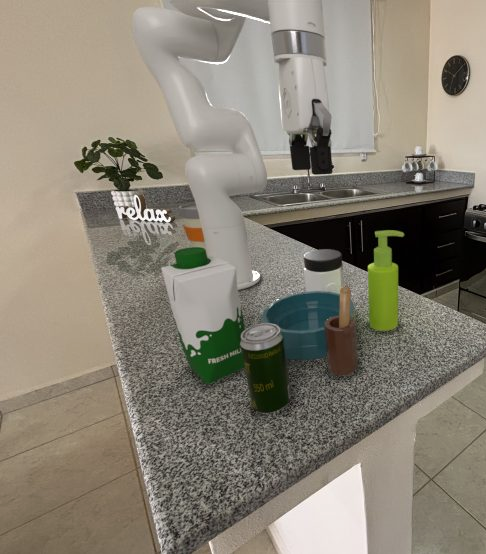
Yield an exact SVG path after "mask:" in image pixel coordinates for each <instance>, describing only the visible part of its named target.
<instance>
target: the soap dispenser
mask: <svg viewBox="0 0 486 554" xmlns="http://www.w3.org/2000/svg"><path fill="white" fill-rule="evenodd" d="M374 236H375V238H378V239H377V245H378V246H376V247H375V248H373V262H371V263H369V264H367V283H368V284H367V285H368V286H367V288H368V289H367V290H368V292H367V293H368V322H369V324H368V325H369V327H370V328H372V329H373V330H375V331H379V332H380V331H381V332H385V331H391V330H393V329H395V328H397V327H398V325H399V265H398V264H397V263H395V262H393V250H392V248H391V247H390V246H388V237H399V238H403V237H404V236H405V233H404V232H403V231H400V230H393V229H392V230H391V229H385V230H384V229H383V230H376V231H374Z"/></svg>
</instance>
